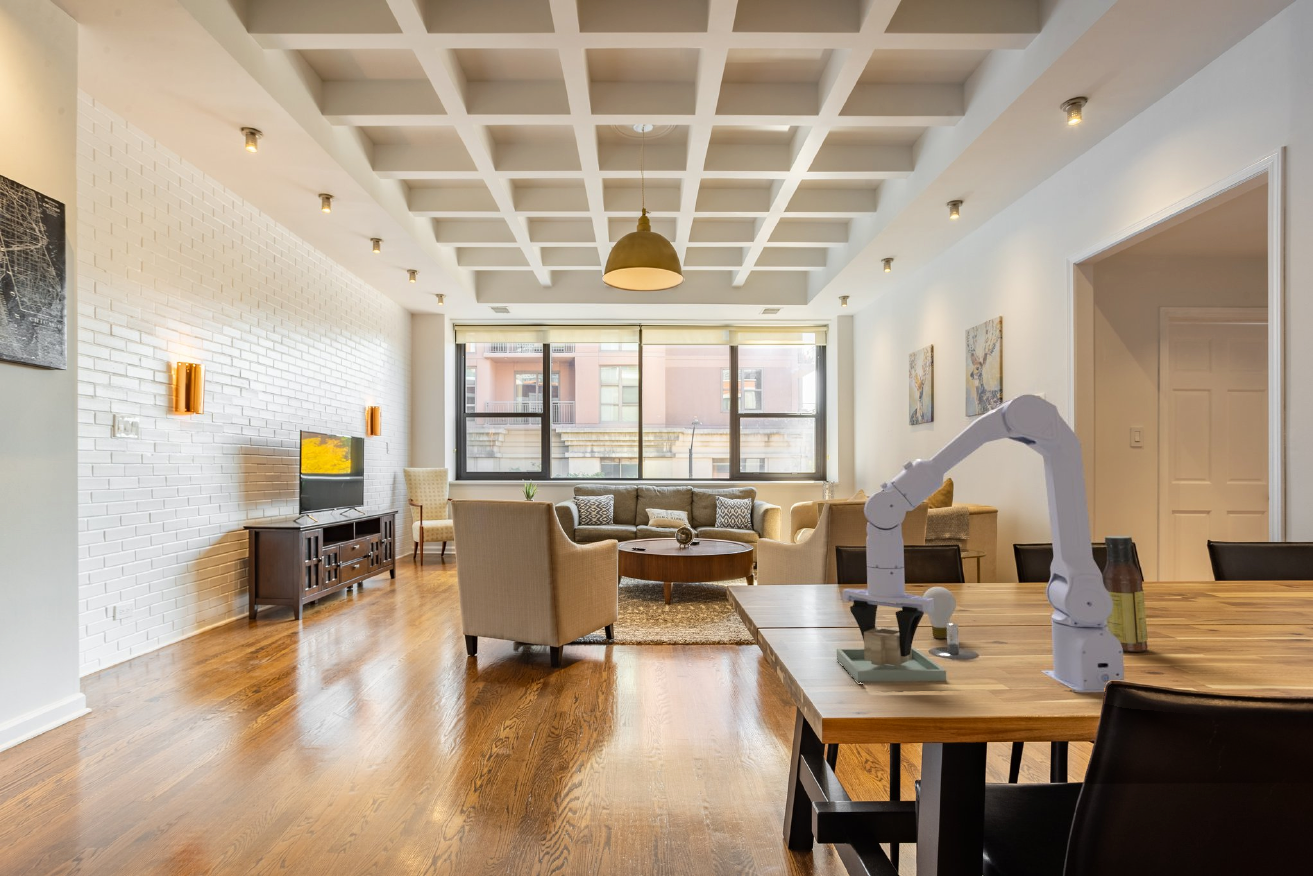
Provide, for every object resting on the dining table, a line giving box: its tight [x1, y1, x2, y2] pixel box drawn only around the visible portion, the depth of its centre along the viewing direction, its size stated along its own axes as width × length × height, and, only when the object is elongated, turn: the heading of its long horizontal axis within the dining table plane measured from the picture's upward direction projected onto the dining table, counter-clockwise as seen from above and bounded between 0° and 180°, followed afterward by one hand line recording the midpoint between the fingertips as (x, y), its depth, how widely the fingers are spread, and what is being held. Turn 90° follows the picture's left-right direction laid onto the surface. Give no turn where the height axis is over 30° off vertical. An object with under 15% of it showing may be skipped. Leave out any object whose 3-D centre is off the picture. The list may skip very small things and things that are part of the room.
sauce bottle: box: [1102, 535, 1149, 653], centre depth 123 cm, size 7×6×20 cm
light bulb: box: [922, 586, 957, 640], centre depth 130 cm, size 6×6×10 cm
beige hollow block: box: [863, 626, 913, 666], centre depth 111 cm, size 8×5×4 cm, turn 136°
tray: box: [836, 647, 947, 683], centre depth 111 cm, size 13×13×2 cm
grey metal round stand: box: [928, 622, 980, 661], centre depth 119 cm, size 8×8×6 cm
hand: (887, 652), depth 111 cm, fingers closed on beige hollow block, 5 cm apart
